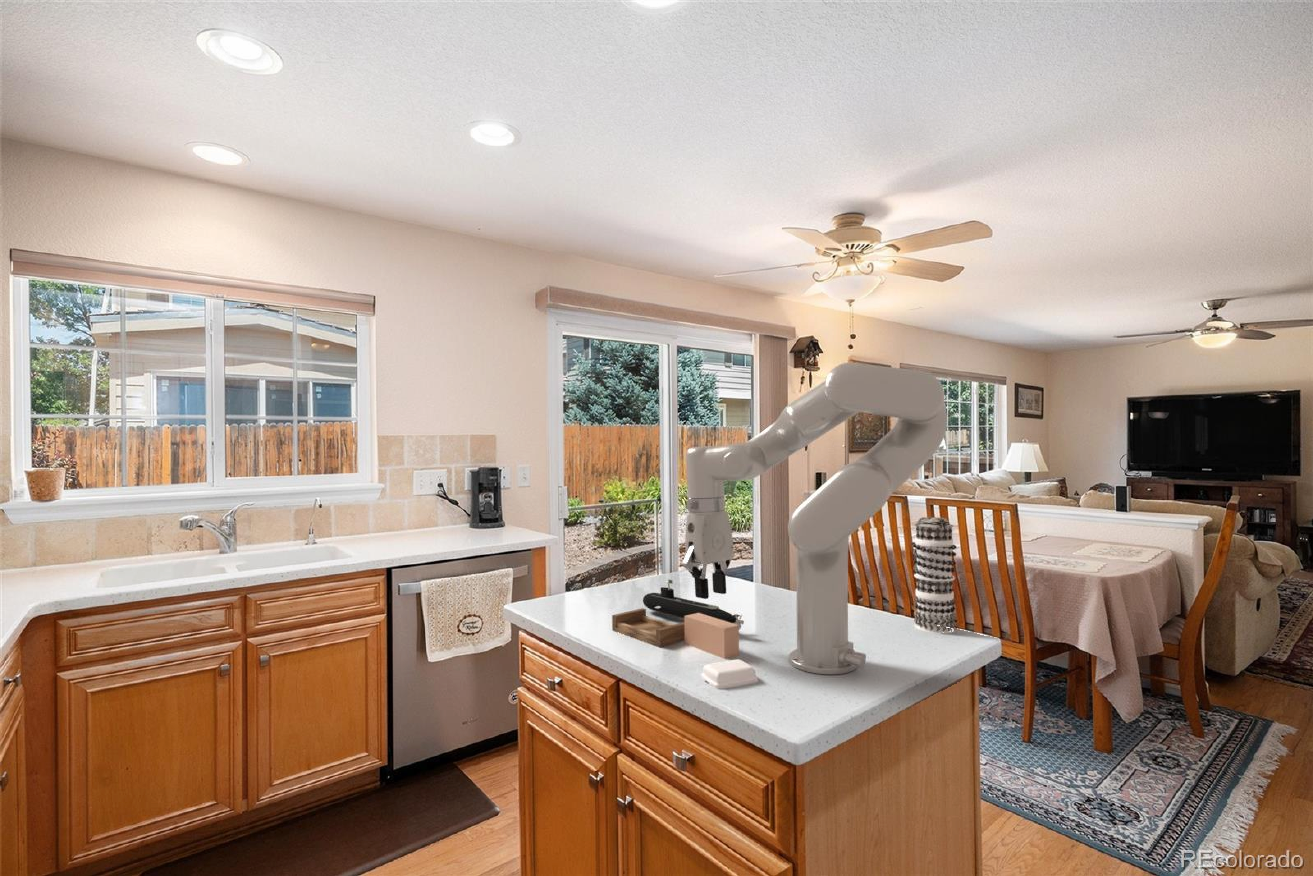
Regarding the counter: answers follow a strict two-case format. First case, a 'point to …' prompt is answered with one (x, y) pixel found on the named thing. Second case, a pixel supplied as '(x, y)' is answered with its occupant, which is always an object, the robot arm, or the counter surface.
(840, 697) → the counter surface
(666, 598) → the submarine model
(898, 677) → the counter surface
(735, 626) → the clay block
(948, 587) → the decorative candle
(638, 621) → the wooden tray
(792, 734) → the counter surface
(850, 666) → the robot arm
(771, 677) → the counter surface
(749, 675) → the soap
